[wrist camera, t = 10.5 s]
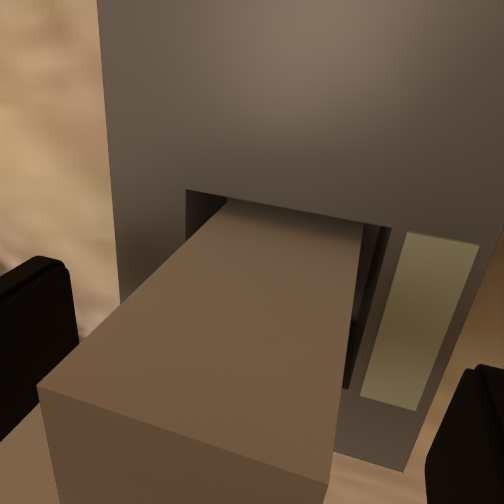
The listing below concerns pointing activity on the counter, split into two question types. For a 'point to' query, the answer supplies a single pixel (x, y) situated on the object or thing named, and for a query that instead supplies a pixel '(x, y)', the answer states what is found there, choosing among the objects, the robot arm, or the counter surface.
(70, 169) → the counter surface
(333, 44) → the socket block
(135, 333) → the plug
